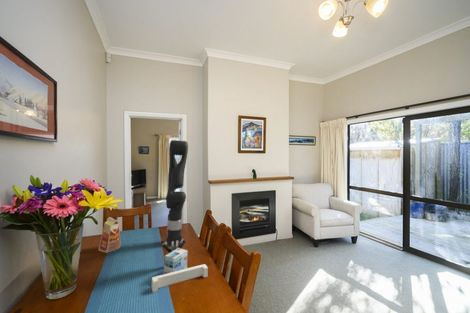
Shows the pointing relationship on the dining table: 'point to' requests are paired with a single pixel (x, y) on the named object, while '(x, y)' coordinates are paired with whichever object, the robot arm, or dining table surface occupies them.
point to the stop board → (178, 276)
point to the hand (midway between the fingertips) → (173, 258)
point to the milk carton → (110, 236)
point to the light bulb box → (175, 261)
